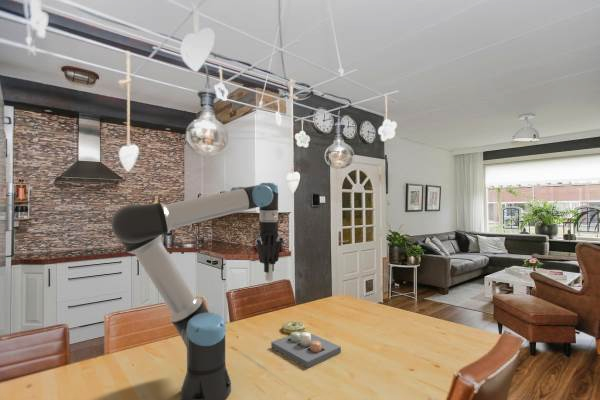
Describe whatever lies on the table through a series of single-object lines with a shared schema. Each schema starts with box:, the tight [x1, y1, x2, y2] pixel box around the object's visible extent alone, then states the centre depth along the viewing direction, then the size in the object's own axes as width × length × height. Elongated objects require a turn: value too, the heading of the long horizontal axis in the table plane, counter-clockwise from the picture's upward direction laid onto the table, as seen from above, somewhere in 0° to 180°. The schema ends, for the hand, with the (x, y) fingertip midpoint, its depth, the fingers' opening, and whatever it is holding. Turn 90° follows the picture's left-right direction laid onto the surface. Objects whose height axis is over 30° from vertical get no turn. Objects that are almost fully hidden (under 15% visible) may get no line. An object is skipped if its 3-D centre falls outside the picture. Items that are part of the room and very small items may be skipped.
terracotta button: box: [310, 341, 322, 354], centre depth 120 cm, size 4×4×4 cm
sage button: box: [290, 332, 300, 344], centre depth 129 cm, size 4×4×4 cm
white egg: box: [300, 331, 312, 347], centre depth 125 cm, size 4×4×4 cm
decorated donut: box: [281, 320, 306, 335], centre depth 146 cm, size 10×11×4 cm
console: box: [271, 329, 342, 369], centre depth 125 cm, size 18×22×3 cm
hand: (269, 280), depth 124 cm, fingers closed
